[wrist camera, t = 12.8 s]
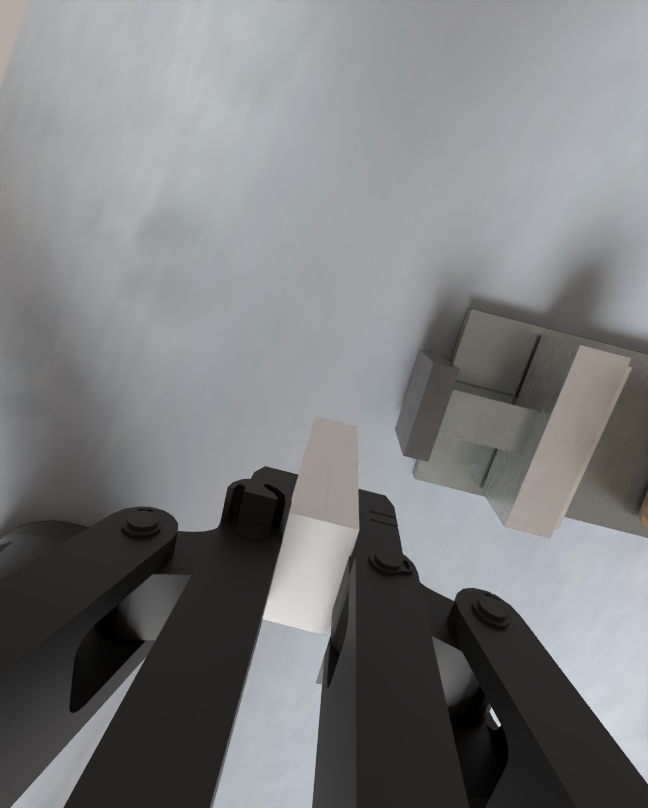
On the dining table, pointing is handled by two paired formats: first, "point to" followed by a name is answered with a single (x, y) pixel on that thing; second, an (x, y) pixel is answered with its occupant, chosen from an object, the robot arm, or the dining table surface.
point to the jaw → (520, 426)
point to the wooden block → (644, 511)
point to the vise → (505, 373)
